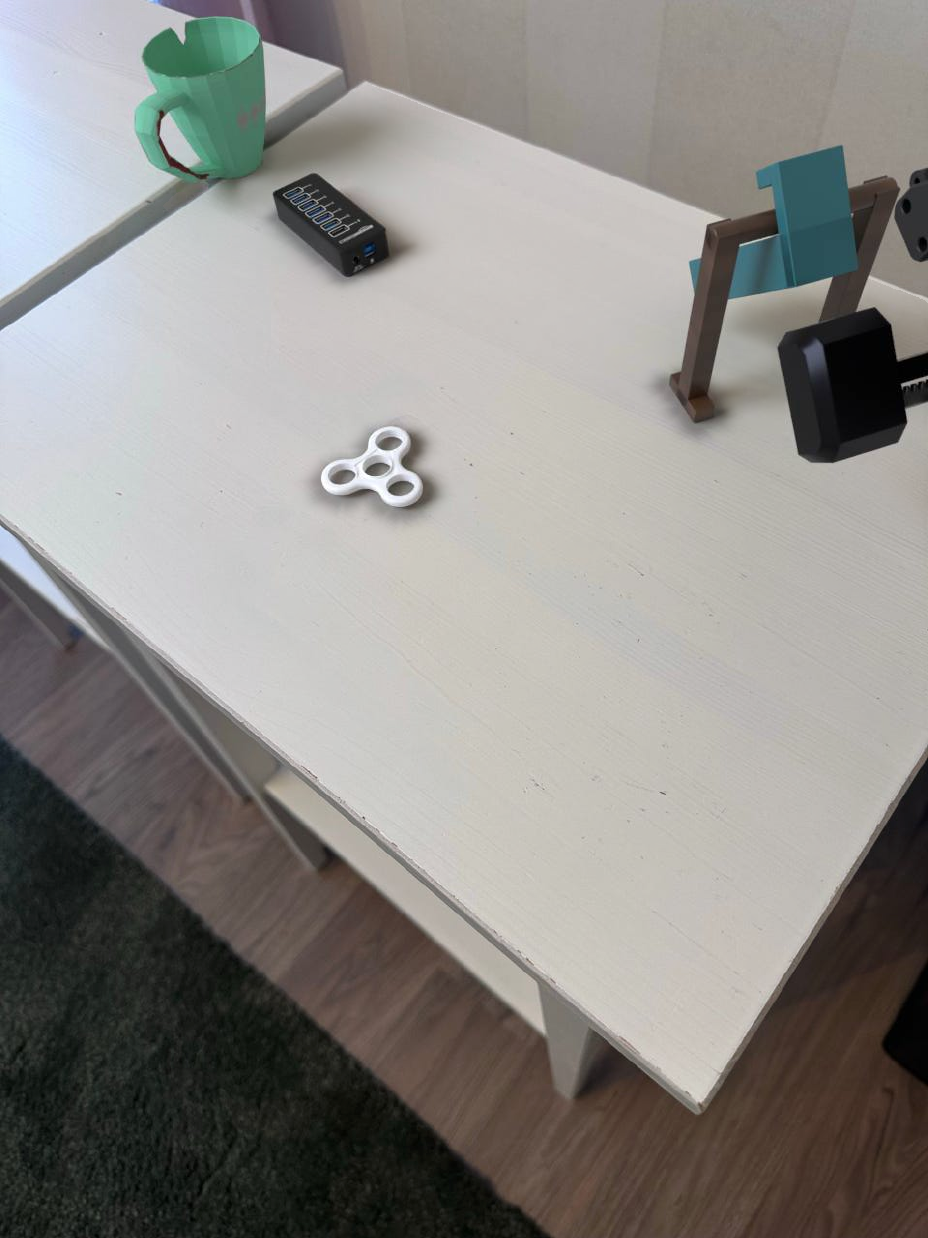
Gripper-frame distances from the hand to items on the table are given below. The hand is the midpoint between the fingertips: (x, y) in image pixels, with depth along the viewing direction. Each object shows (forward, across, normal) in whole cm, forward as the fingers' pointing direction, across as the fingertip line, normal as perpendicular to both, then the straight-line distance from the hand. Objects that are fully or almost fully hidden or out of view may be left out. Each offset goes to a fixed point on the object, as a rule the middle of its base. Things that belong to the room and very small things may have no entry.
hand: (870, 363), depth 50 cm
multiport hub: (+33, +24, -20) cm, 45 cm away
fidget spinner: (+14, +27, -1) cm, 30 cm away
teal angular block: (+15, 0, -10) cm, 18 cm away
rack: (+13, 0, 0) cm, 13 cm away
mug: (+42, +31, -29) cm, 60 cm away
